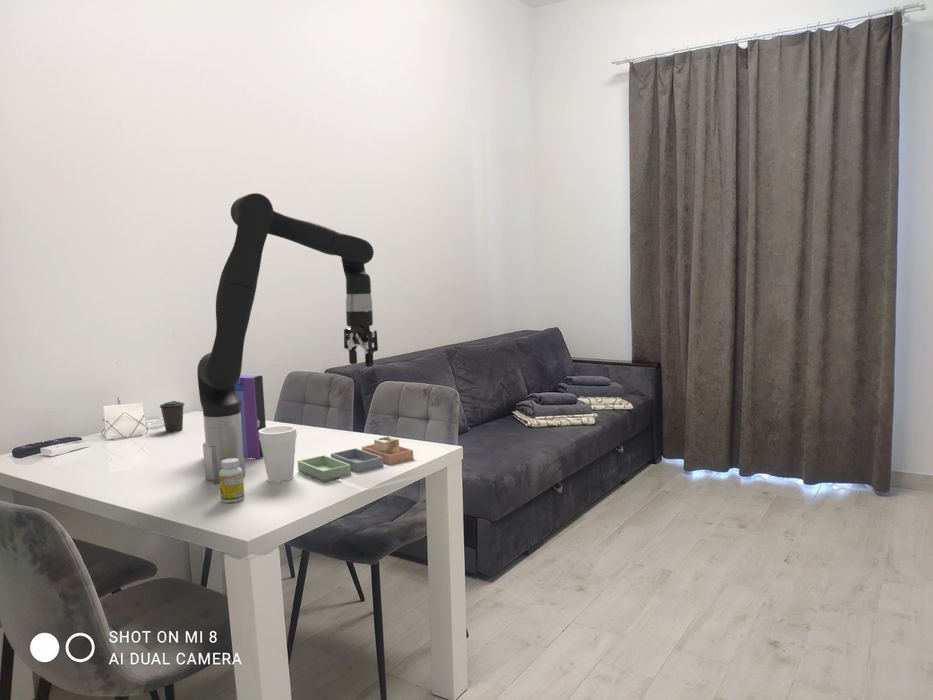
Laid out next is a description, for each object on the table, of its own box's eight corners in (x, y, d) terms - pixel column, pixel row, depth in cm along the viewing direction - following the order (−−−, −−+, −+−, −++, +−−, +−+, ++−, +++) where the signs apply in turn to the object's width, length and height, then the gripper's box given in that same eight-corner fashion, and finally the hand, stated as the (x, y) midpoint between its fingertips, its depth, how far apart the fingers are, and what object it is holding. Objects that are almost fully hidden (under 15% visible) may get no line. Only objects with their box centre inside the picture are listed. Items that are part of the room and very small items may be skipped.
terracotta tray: (389, 466, 191) (389, 455, 190) (362, 457, 201) (361, 446, 201) (413, 460, 196) (412, 450, 195) (385, 451, 206) (385, 441, 206)
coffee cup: (182, 426, 251) (180, 399, 250) (189, 430, 244) (187, 402, 243) (158, 430, 246) (156, 402, 244) (165, 434, 239) (163, 405, 238)
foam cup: (296, 471, 189) (293, 423, 188) (301, 480, 181) (298, 431, 179) (260, 476, 186) (256, 427, 184) (263, 485, 177) (260, 435, 176)
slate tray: (357, 474, 184) (357, 463, 184) (331, 464, 195) (330, 453, 195) (383, 468, 189) (382, 457, 189) (356, 458, 200) (355, 448, 200)
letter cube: (384, 460, 195) (383, 441, 194) (375, 456, 199) (374, 438, 198) (399, 456, 198) (398, 438, 197) (389, 453, 202) (388, 435, 201)
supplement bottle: (243, 502, 165) (240, 462, 164) (219, 504, 164) (216, 464, 163) (245, 495, 170) (243, 456, 169) (222, 497, 169) (219, 458, 168)
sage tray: (323, 482, 178) (323, 471, 177) (298, 471, 188) (297, 460, 188) (351, 475, 183) (350, 464, 183) (324, 465, 194) (324, 455, 193)
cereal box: (207, 456, 208) (201, 376, 205) (217, 452, 212) (211, 374, 210) (258, 459, 203) (252, 377, 200) (267, 455, 207) (262, 374, 204)
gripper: (335, 309, 206) (337, 364, 207) (361, 310, 195) (363, 368, 197) (357, 308, 211) (358, 362, 212) (384, 309, 200) (385, 366, 202)
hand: (361, 365), depth 205 cm, fingers open, 8 cm apart
